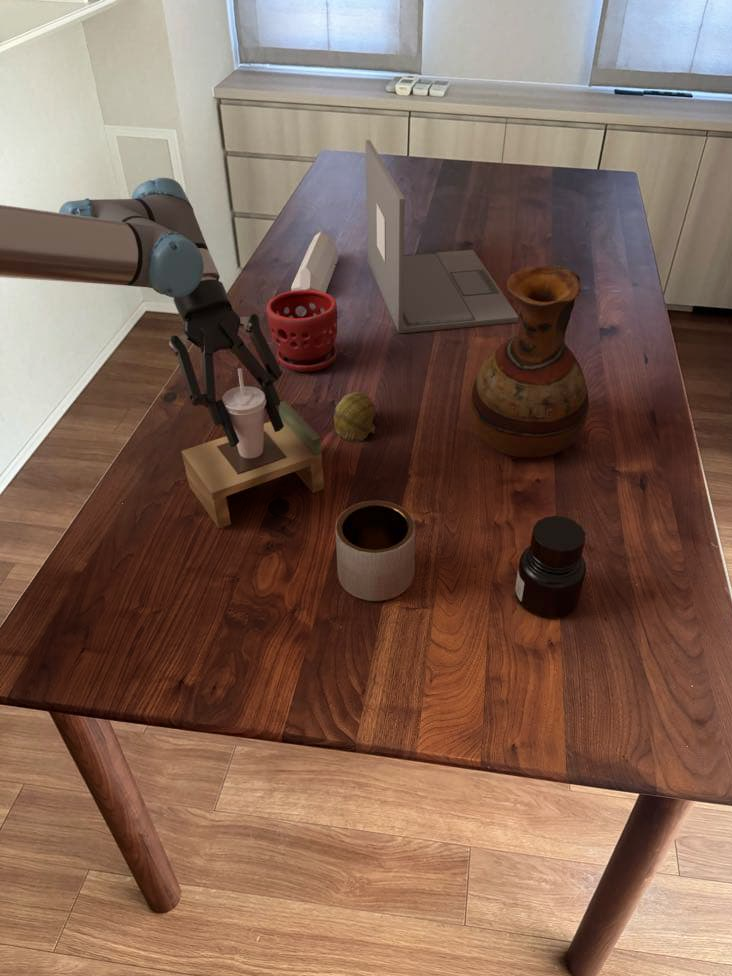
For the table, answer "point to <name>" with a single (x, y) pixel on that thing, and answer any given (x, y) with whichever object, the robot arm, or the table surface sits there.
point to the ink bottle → (552, 568)
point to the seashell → (354, 417)
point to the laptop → (424, 268)
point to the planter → (375, 550)
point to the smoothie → (246, 417)
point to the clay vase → (533, 371)
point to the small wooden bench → (253, 463)
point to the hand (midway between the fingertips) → (257, 436)
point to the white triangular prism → (317, 265)
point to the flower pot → (304, 329)
